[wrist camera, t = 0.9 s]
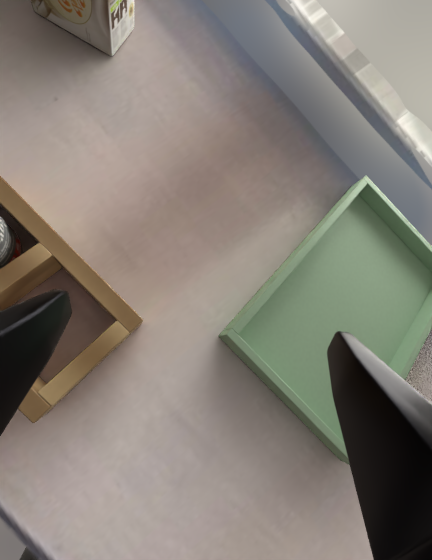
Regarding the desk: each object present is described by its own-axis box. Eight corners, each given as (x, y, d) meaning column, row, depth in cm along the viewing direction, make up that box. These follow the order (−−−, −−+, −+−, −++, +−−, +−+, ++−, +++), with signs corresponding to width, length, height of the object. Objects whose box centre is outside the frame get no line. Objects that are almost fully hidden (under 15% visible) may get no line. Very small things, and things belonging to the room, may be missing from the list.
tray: (340, 460, 28) (359, 470, 26) (218, 336, 27) (226, 334, 25) (438, 279, 38) (458, 275, 36) (351, 186, 38) (366, 175, 35)
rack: (47, 413, 22) (33, 424, 19) (-126, 245, 21) (-171, 227, 18) (141, 323, 26) (143, 319, 22) (-3, 178, 25) (-23, 152, 22)
